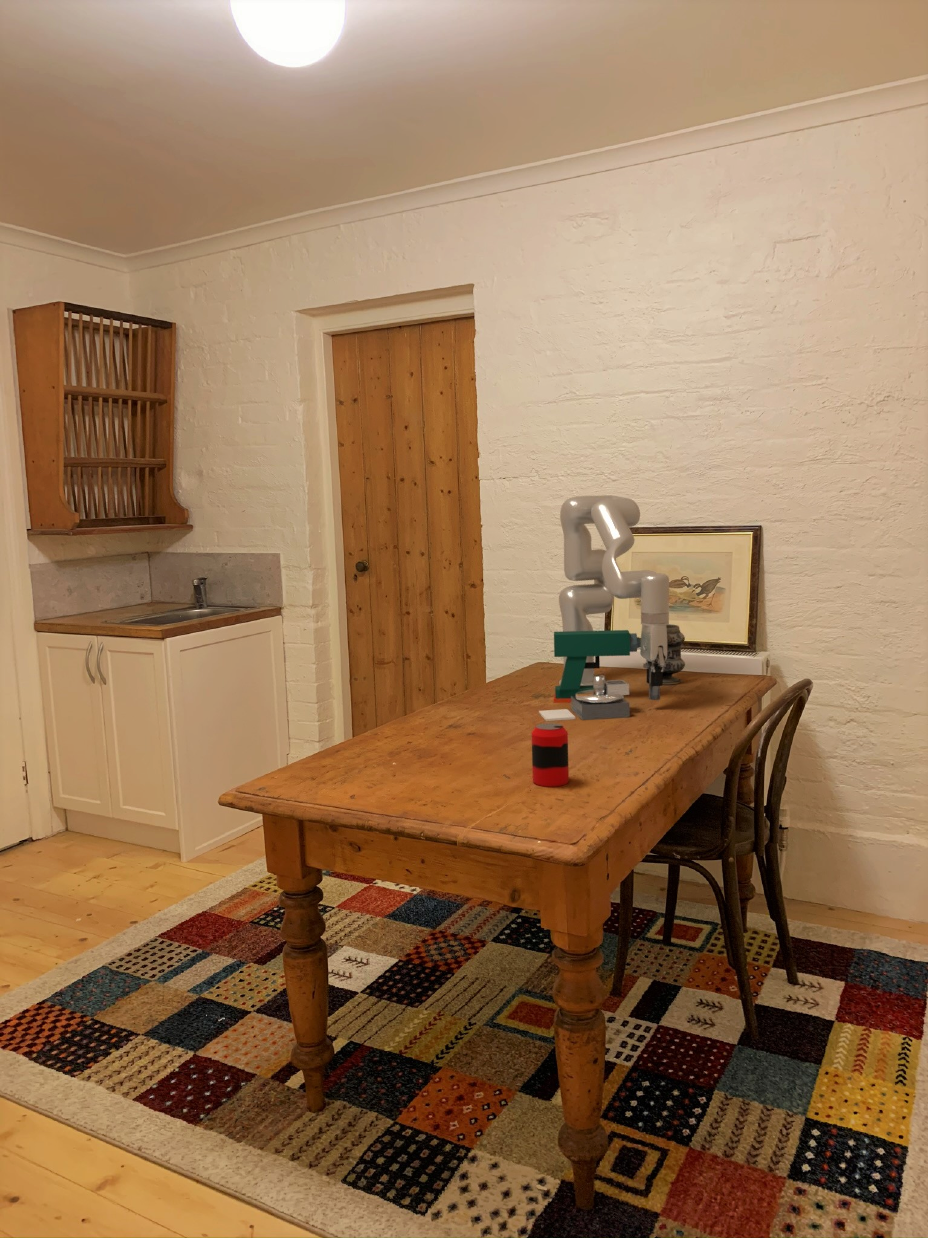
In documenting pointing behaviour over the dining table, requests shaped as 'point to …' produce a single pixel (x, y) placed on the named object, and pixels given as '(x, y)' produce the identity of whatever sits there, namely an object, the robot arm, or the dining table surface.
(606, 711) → the stand
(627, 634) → the power tool
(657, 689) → the chuck key
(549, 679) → the dining table surface
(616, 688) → the collar
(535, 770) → the soda can
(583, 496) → the robot arm
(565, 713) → the key mat
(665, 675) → the apothecary jar
